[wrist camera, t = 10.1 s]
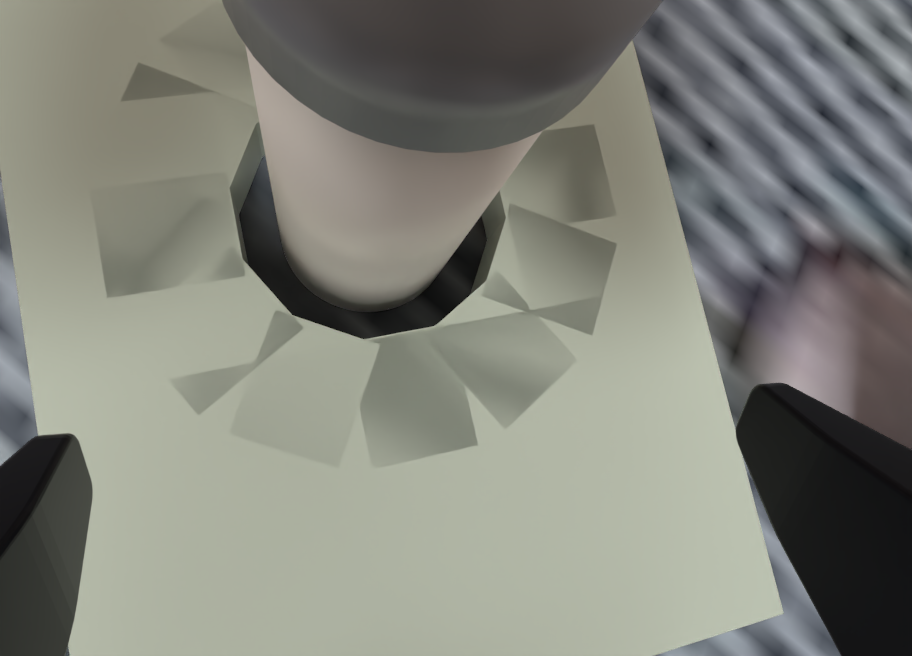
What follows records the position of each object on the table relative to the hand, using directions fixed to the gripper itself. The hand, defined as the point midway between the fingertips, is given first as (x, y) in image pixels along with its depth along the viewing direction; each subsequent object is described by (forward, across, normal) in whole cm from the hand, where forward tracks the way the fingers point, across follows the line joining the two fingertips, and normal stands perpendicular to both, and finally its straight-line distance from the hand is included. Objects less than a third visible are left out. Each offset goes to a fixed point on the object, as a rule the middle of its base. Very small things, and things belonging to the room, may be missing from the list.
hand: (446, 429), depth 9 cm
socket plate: (+8, 0, +4) cm, 9 cm away
